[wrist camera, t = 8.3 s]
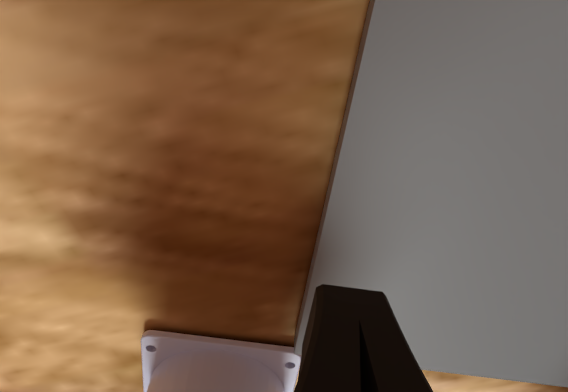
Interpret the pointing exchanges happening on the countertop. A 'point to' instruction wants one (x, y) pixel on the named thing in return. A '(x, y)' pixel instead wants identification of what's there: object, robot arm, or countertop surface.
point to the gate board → (457, 184)
